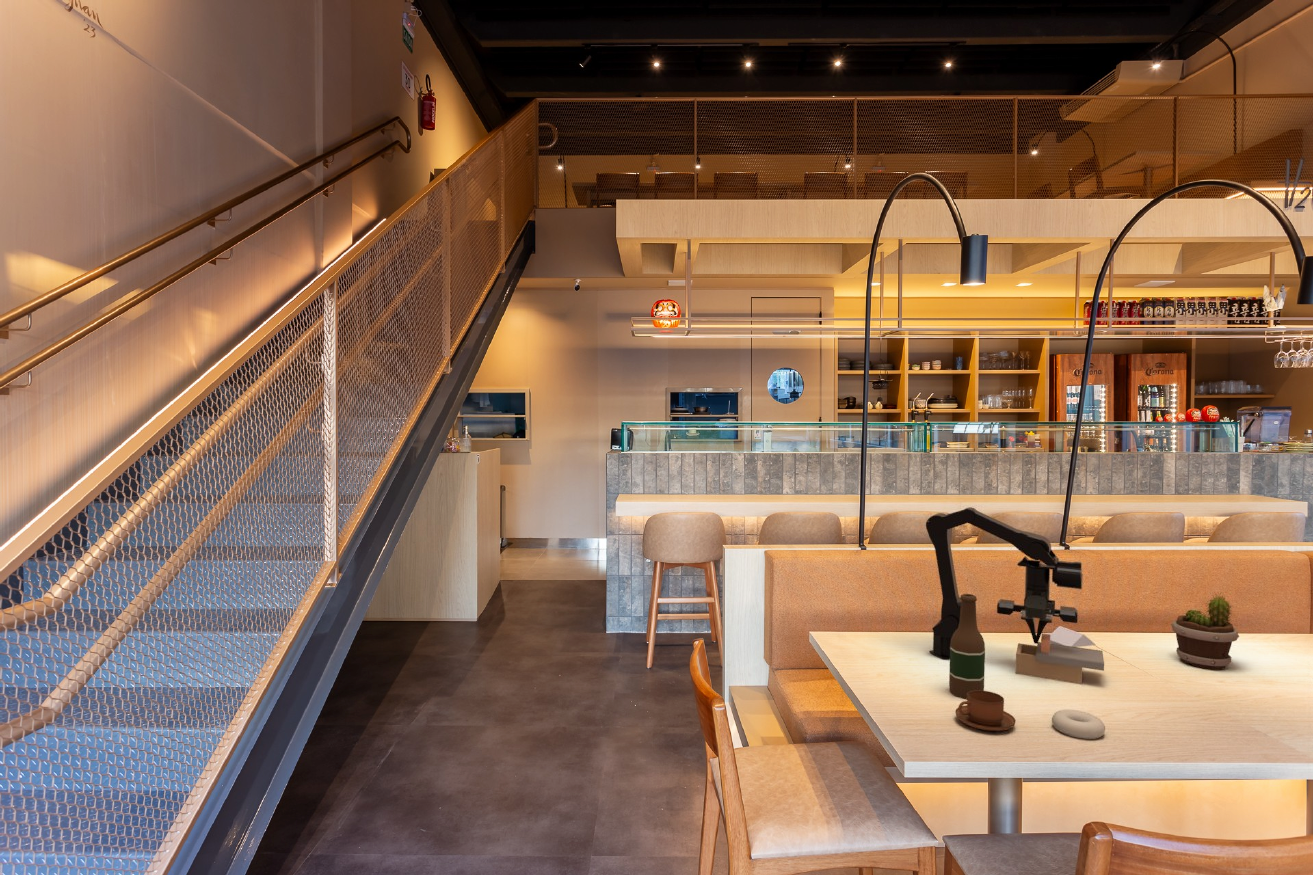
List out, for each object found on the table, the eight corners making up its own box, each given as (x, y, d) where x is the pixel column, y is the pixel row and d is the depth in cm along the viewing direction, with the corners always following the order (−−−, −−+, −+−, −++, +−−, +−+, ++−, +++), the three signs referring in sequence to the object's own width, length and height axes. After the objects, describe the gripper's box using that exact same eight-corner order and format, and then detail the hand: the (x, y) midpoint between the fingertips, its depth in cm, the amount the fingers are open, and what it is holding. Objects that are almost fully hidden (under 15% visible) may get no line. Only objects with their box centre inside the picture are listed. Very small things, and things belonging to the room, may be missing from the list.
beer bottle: (982, 690, 183) (984, 592, 182) (985, 701, 176) (987, 600, 175) (948, 686, 186) (950, 590, 185) (949, 697, 178) (951, 597, 178)
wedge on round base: (1096, 656, 210) (1059, 643, 222) (1096, 633, 210) (1059, 620, 222) (1069, 659, 207) (1034, 645, 220) (1070, 635, 207) (1034, 622, 220)
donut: (1070, 719, 167) (1041, 726, 162) (1071, 704, 167) (1041, 710, 162) (1115, 737, 158) (1085, 745, 153) (1116, 720, 158) (1086, 728, 153)
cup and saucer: (989, 740, 155) (990, 710, 155) (943, 719, 166) (943, 691, 166) (1027, 729, 161) (1028, 701, 161) (980, 709, 171) (981, 683, 171)
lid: (1035, 660, 192) (1036, 642, 192) (1037, 648, 202) (1038, 630, 202) (1103, 670, 185) (1104, 651, 185) (1102, 657, 195) (1102, 639, 195)
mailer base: (1015, 673, 195) (1016, 653, 195) (1017, 662, 204) (1018, 643, 204) (1081, 683, 188) (1082, 662, 188) (1081, 672, 197) (1081, 652, 197)
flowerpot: (1179, 669, 200) (1181, 594, 199) (1164, 652, 214) (1166, 582, 214) (1245, 676, 195) (1248, 600, 194) (1226, 658, 209) (1228, 587, 208)
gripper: (995, 586, 194) (994, 645, 195) (1078, 594, 185) (1076, 657, 186) (999, 578, 204) (998, 634, 204) (1077, 586, 195) (1076, 645, 195)
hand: (1035, 643), depth 197 cm, fingers closed
